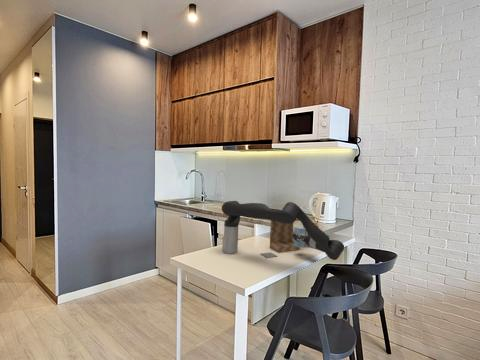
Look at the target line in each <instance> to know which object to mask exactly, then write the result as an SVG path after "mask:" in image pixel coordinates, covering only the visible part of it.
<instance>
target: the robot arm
mask: <svg viewBox="0 0 480 360" xmlns="http://www.w3.org/2000/svg"><path fill="white" fill-rule="evenodd" d="M221 211H222V213H223V214H224V215H225V216H228V217H227V218H226V220H225V221H224V227H223V236H222V244H221V246H222V249H221V251H222V252H223V253H224V254H227V255H228V254H231V255H232V254H237V253H238V252H239V251H238V249H239V248H238V247H239V223H240V220H241V217H245V218H250V219H257V220H267V221H271V220H272V221H277V222H281V223H286V224H292V223H293V224H294V223H295V222H296V221H295V220H296V219H298V220H300V221H299V222H300V223H301V224H302V227H303V226H304V227H305V229H306V231H307V233H308V234H307V235H306V234H305V236H303V235H296V234H294V233H293V239H294V238H295V240H296V241H298V242H300V241H303V242H305V243H306V245H307V246H309V247H312V248H311V249H315V250H316V251H320V252H322V253H325V255H326V256H327V257H328V258H329V259H330V260H332V261H336V260H338V259H339V258H340V256H341V254H342V253H343V251H344V250H345V244H344V243H343V242H341V241H340V240H338V239H330V236H329V235H328V234H326V233H325V232H324V231H323V230H321V228H320V227H319V226H318V227H317V226H316V225H315V224H314V223H315V222H314V223H313V221H312V219H311V218H310V217H309V216H308V215H307V214H306V213H305V211H303V209H302V208H301V207H300V206H299V205H298V204H297V203H295V202H293V201H288V202H287V203H285V204H284V206H283V208H282V209H281V210H273V209H271V208H270V207H269V206H268V205H266V204H265V203H261V202H260V203H259V202H248V203H247V202H246V203H240V202H239V201H237V200H229V201H226V202H224V203H223V204H222V205H221ZM309 247H308V248H309Z"/></svg>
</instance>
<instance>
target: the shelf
mask: <svg viewBox="0 0 480 360" xmlns="http://www.w3.org/2000/svg"><path fill="white" fill-rule="evenodd" d="M295 222H300V220H298V219H296V220H295ZM269 229H270V230H269V231H270V232H269V249H271V250H273V252H276V253H277V254H281V253H288V252H296V251H301V250H302V247H299V248H298V247H296V246H294V240H293V239H292V234H294V223H292V224H286V223H281V222H277V221H272V220H270V228H269Z"/></svg>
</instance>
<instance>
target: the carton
mask: <svg viewBox="0 0 480 360" xmlns="http://www.w3.org/2000/svg"><path fill="white" fill-rule="evenodd" d="M305 232H306V229H305V228H303V226H294V227H293V234H296V235H303V236H305ZM293 241H294V246H296V247H298V248H299V247H301V248H306V247H305V242H303V241H300V242H298V241H296V240H295V238H294V237H293Z"/></svg>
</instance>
